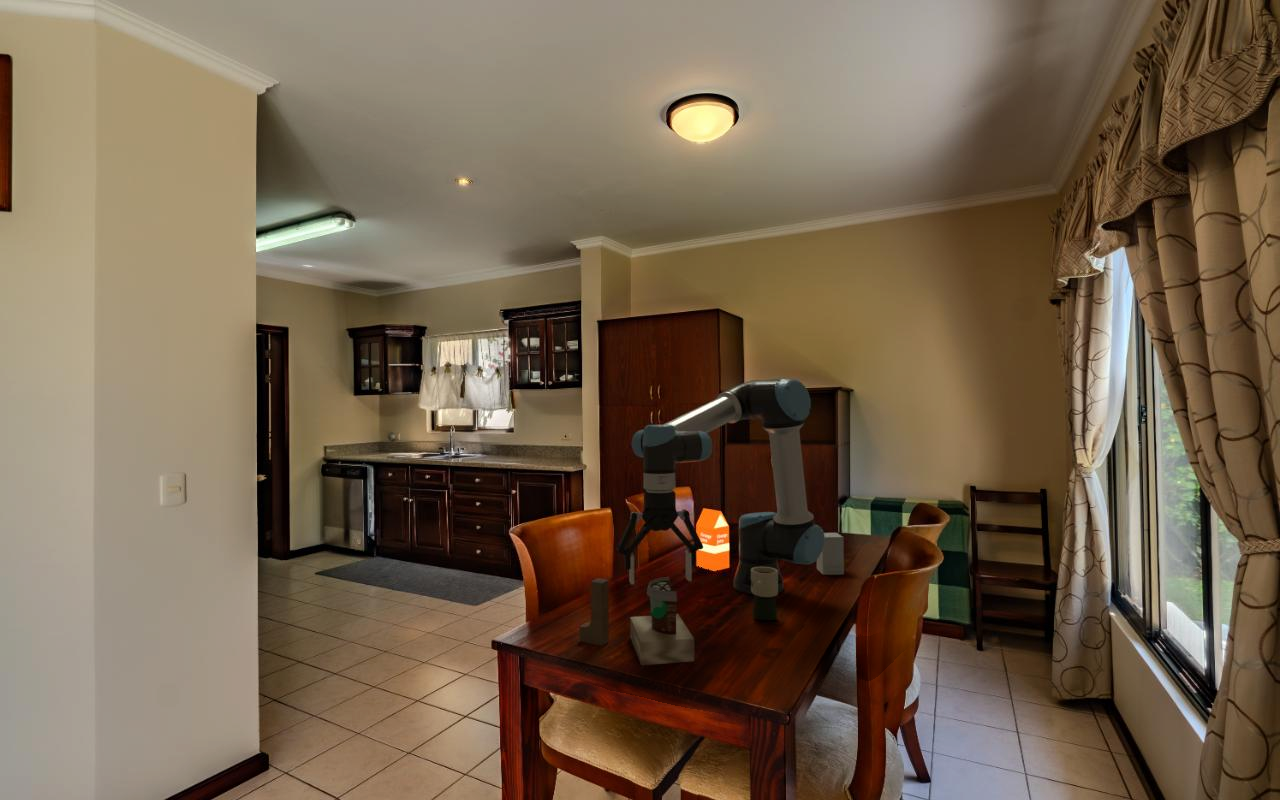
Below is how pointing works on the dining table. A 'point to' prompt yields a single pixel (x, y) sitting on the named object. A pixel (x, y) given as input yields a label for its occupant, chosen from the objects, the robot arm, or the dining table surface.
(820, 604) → the dining table surface
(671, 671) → the dining table surface
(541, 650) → the dining table surface
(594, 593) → the wooden block
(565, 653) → the dining table surface
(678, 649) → the birch block
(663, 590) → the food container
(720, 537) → the orange juice
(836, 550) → the supplement box
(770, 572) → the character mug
